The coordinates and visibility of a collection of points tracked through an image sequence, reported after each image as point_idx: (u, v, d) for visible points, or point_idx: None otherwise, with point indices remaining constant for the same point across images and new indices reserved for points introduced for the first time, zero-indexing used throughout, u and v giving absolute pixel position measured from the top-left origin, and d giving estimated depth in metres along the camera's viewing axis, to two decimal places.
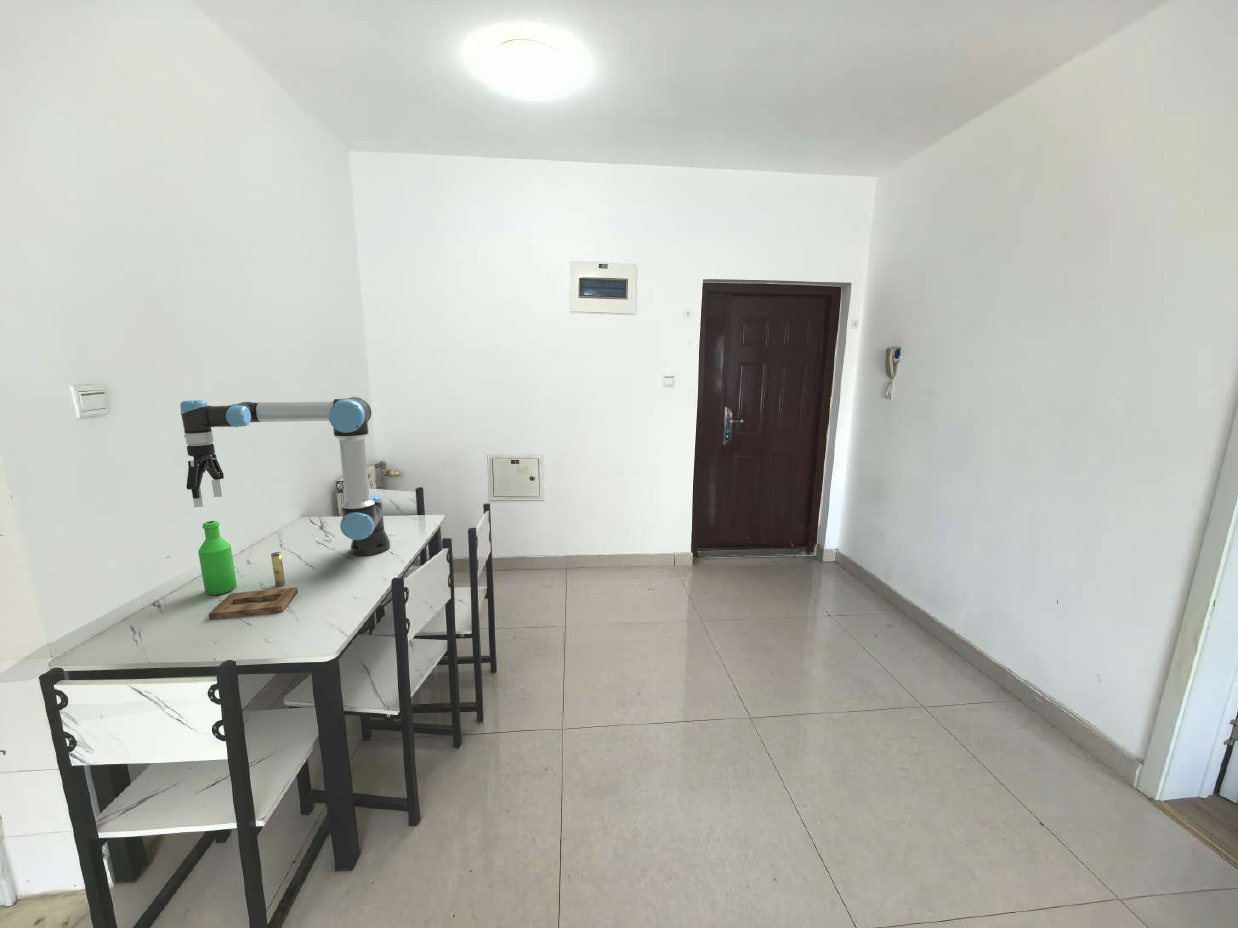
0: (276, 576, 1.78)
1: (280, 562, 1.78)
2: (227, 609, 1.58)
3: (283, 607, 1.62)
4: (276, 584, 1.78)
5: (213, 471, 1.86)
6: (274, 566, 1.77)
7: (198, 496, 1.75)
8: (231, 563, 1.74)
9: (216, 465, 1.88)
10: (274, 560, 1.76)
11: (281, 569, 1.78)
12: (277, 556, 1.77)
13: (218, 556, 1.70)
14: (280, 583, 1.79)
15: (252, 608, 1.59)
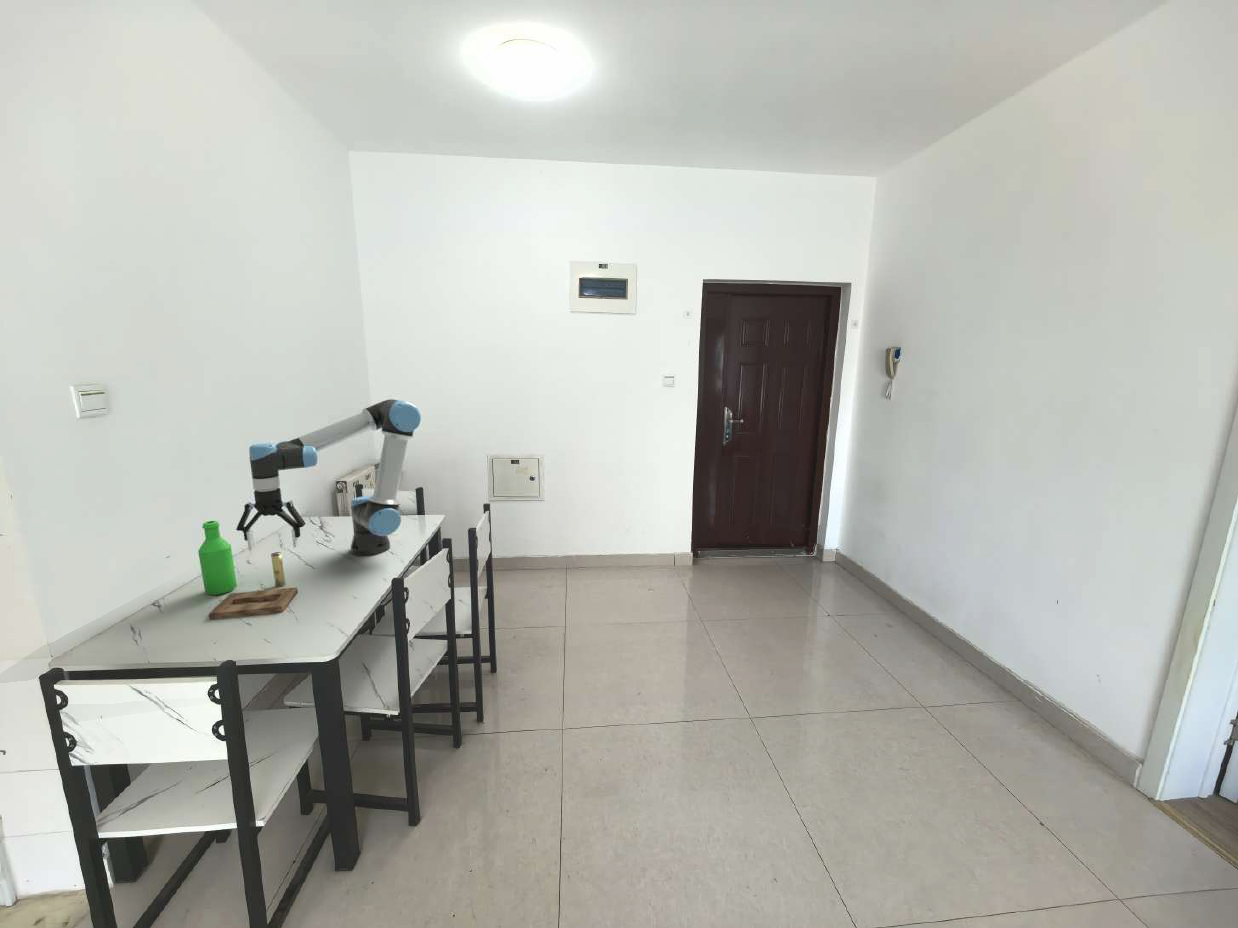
0: (276, 576, 1.78)
1: (280, 562, 1.78)
2: (227, 609, 1.58)
3: (283, 607, 1.62)
4: (276, 584, 1.78)
5: None
6: (274, 566, 1.77)
7: (246, 539, 1.73)
8: (231, 563, 1.74)
9: None
10: (274, 560, 1.76)
11: (281, 569, 1.78)
12: (277, 556, 1.77)
13: (218, 556, 1.70)
14: (280, 583, 1.79)
15: (252, 608, 1.59)
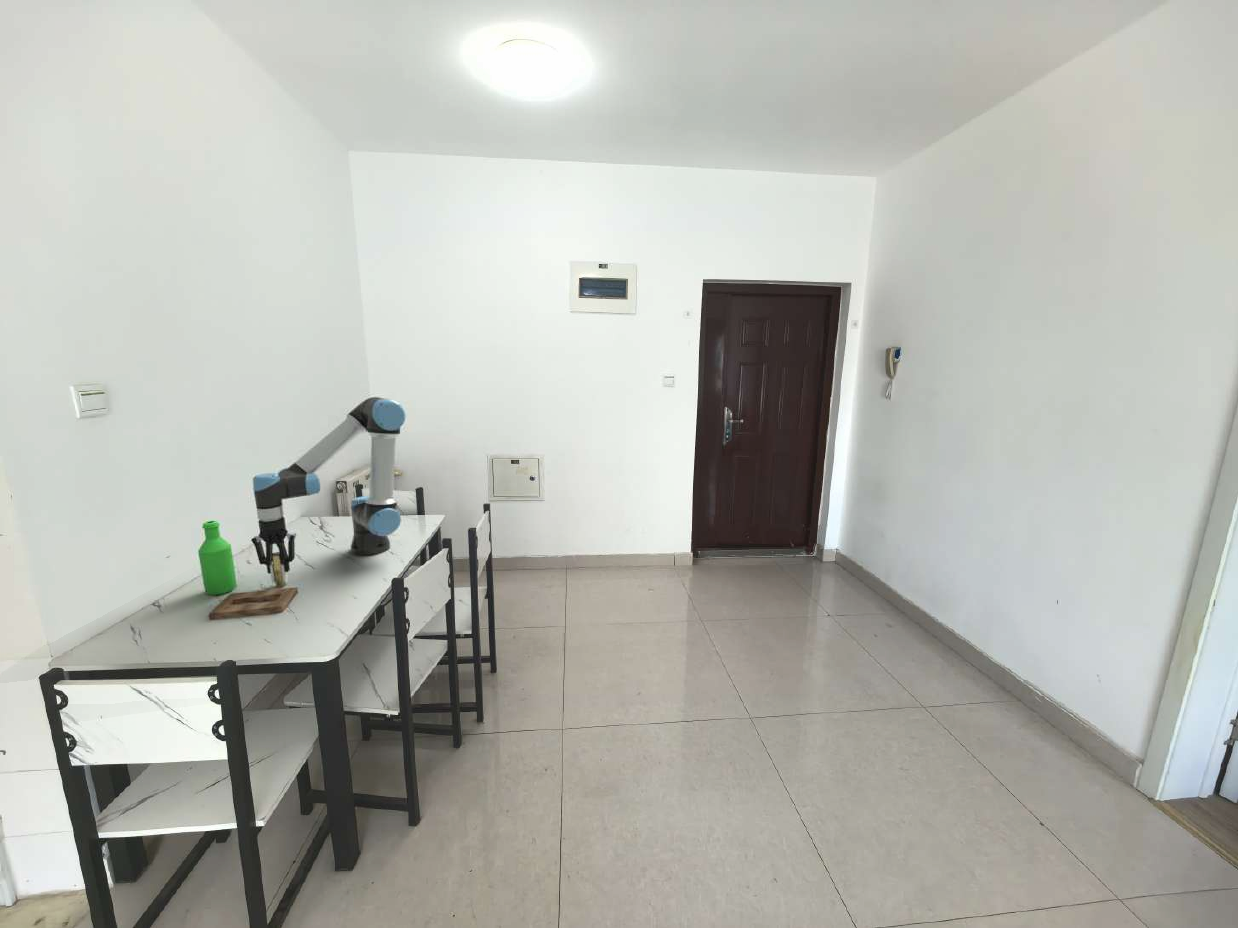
0: (277, 576, 1.78)
1: (280, 562, 1.78)
2: (227, 609, 1.58)
3: (283, 607, 1.62)
4: (277, 584, 1.78)
5: None
6: (275, 566, 1.77)
7: (269, 572, 1.78)
8: (231, 563, 1.74)
9: None
10: (275, 560, 1.76)
11: None
12: (277, 556, 1.77)
13: (218, 556, 1.70)
14: (281, 583, 1.79)
15: (252, 608, 1.59)
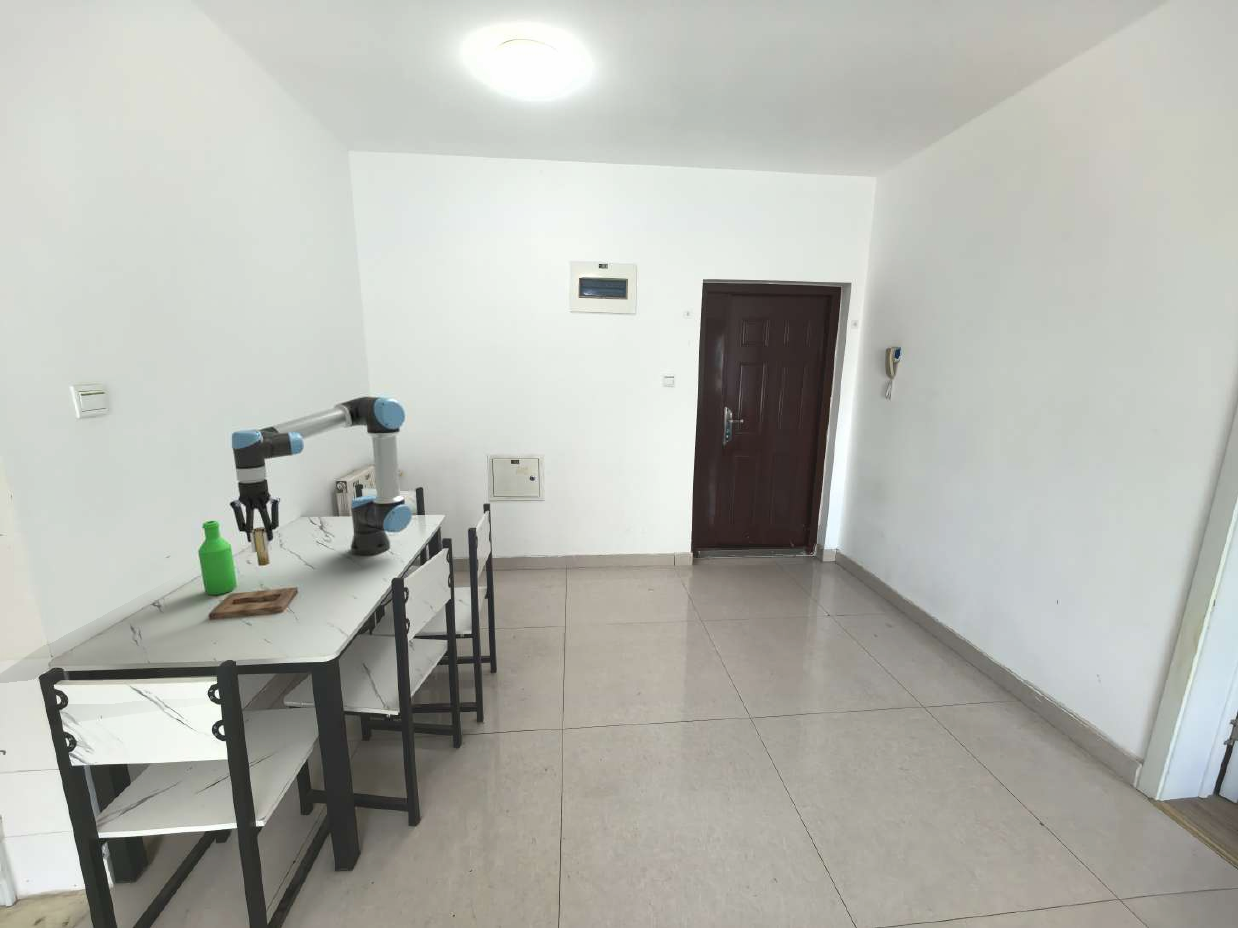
0: (259, 554, 1.61)
1: (263, 538, 1.61)
2: (227, 609, 1.58)
3: (283, 607, 1.62)
4: (259, 562, 1.62)
5: None
6: (257, 542, 1.60)
7: (249, 540, 1.60)
8: (231, 563, 1.74)
9: None
10: (257, 536, 1.60)
11: None
12: (260, 531, 1.60)
13: (218, 556, 1.70)
14: (264, 562, 1.62)
15: (252, 608, 1.59)
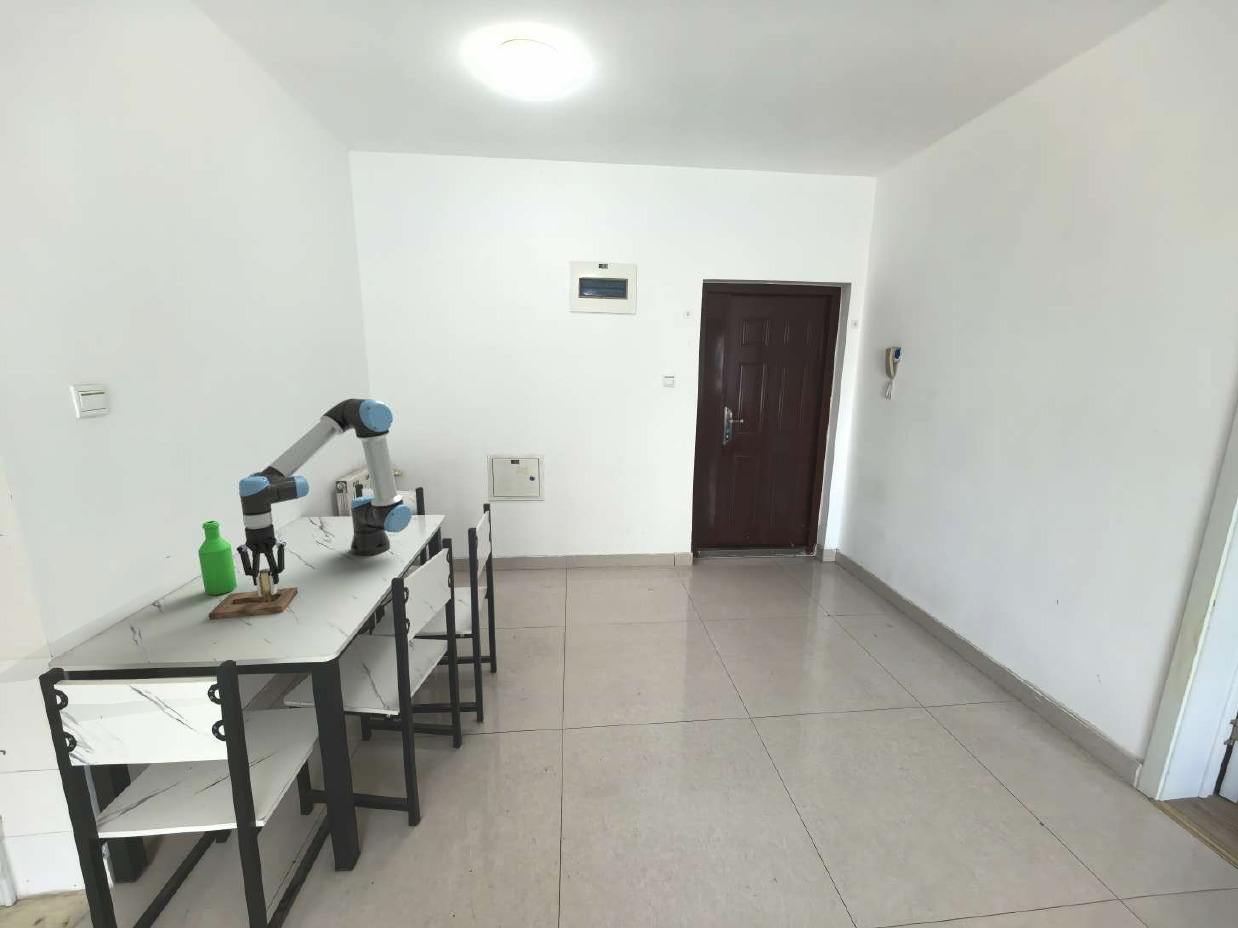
0: (265, 595, 1.64)
1: (269, 580, 1.64)
2: (227, 609, 1.58)
3: (283, 607, 1.62)
4: None
5: None
6: (263, 584, 1.63)
7: (255, 584, 1.63)
8: (231, 563, 1.74)
9: None
10: (263, 577, 1.63)
11: (270, 587, 1.65)
12: (266, 573, 1.63)
13: (218, 556, 1.70)
14: None
15: (252, 608, 1.59)
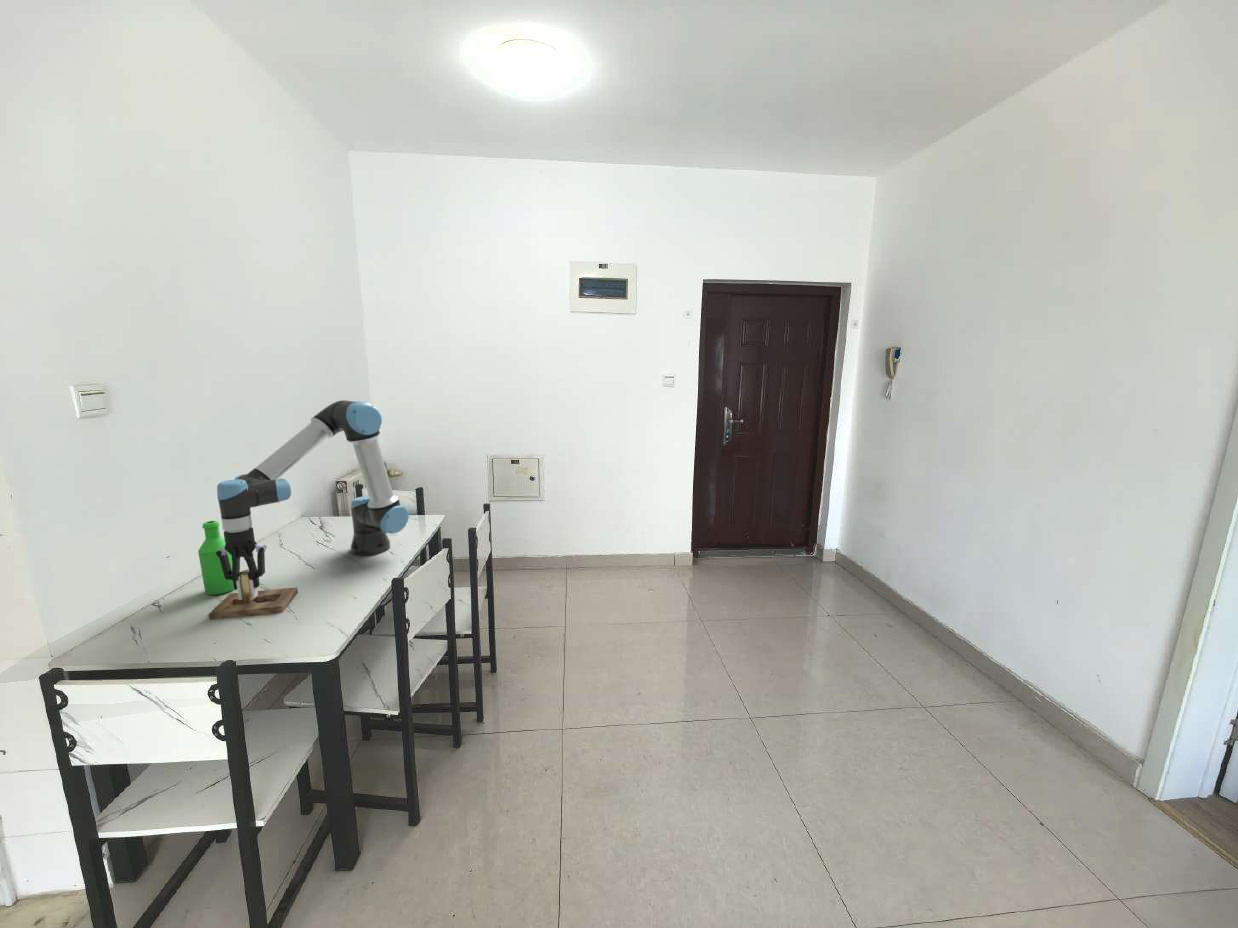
0: (245, 596, 1.63)
1: None
2: (227, 609, 1.58)
3: (283, 607, 1.62)
4: None
5: None
6: (243, 585, 1.62)
7: (236, 587, 1.62)
8: (231, 563, 1.74)
9: None
10: (243, 579, 1.61)
11: (250, 589, 1.63)
12: (246, 575, 1.61)
13: None
14: None
15: (252, 608, 1.59)
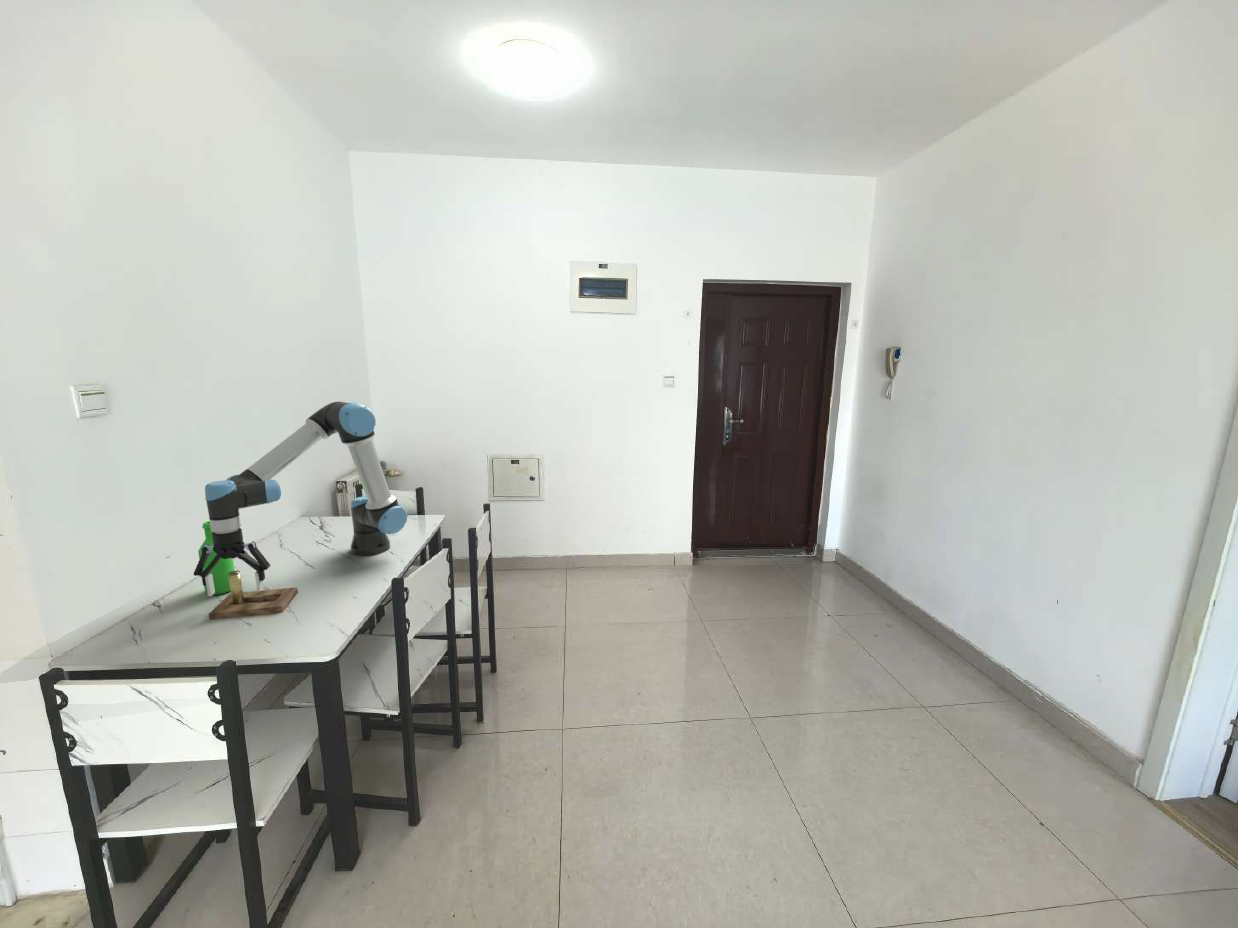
0: (234, 597, 1.62)
1: (238, 582, 1.62)
2: (227, 609, 1.58)
3: (283, 607, 1.62)
4: None
5: None
6: (231, 586, 1.61)
7: (205, 584, 1.59)
8: (231, 563, 1.74)
9: None
10: (231, 580, 1.61)
11: (239, 590, 1.62)
12: (234, 575, 1.61)
13: None
14: None
15: (252, 608, 1.59)
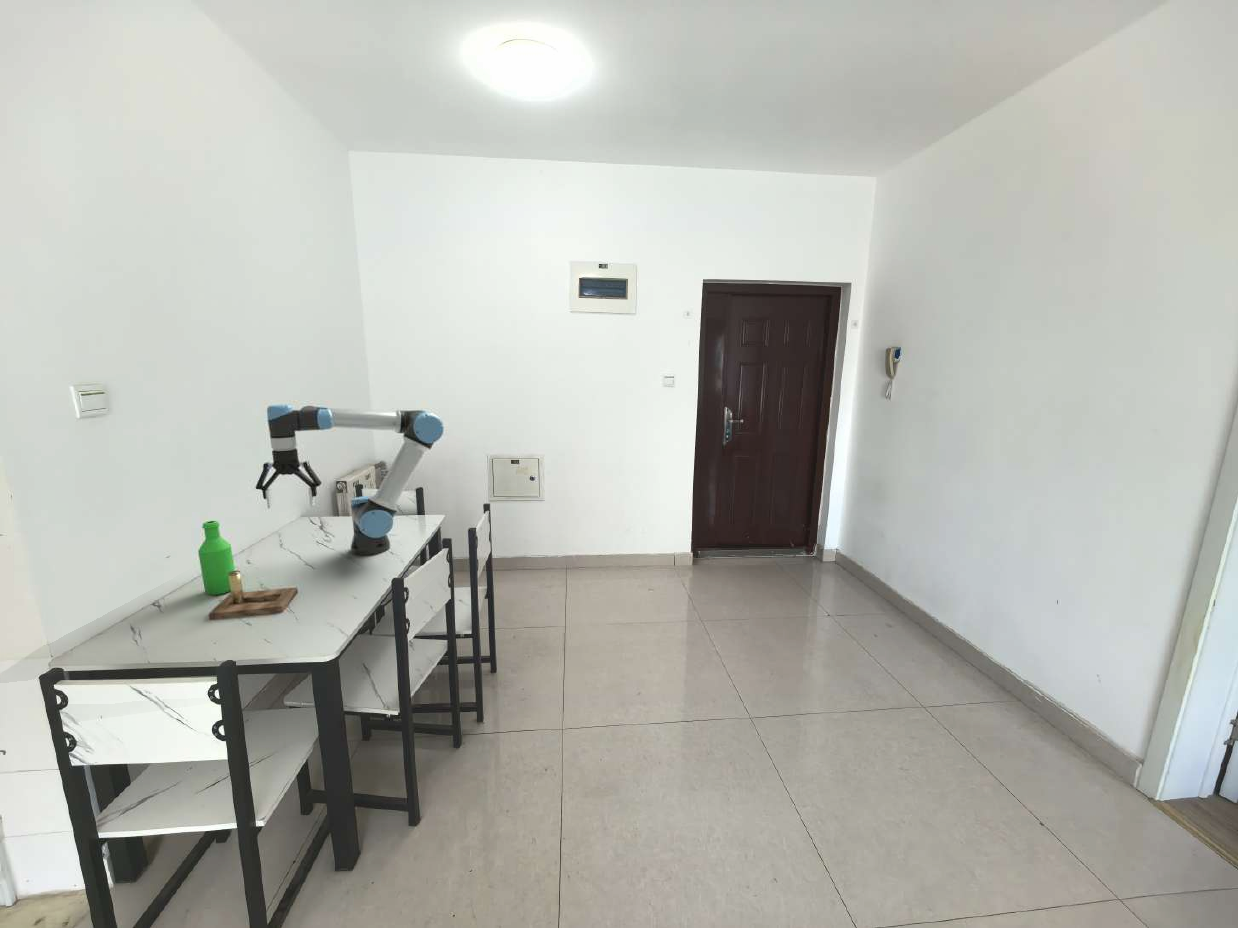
0: (234, 597, 1.62)
1: (238, 582, 1.62)
2: (227, 609, 1.58)
3: (283, 607, 1.62)
4: None
5: None
6: (231, 586, 1.61)
7: (265, 497, 1.80)
8: (231, 563, 1.74)
9: None
10: (231, 580, 1.61)
11: (239, 590, 1.62)
12: (234, 575, 1.61)
13: (218, 556, 1.70)
14: None
15: (252, 608, 1.59)
